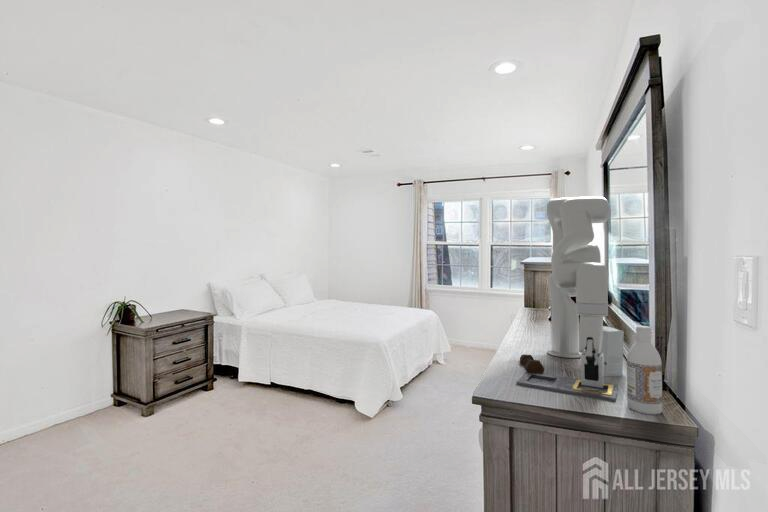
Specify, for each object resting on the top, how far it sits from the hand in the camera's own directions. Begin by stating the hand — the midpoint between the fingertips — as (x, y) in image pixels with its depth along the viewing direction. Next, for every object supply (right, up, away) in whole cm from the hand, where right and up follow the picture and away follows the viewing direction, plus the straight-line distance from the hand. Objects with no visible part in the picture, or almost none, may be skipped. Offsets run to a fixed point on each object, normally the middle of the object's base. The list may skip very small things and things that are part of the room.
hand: (592, 376), depth 103 cm
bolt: (-8, -6, +23) cm, 25 cm away
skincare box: (+13, -5, +17) cm, 22 cm away
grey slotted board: (-5, -5, +4) cm, 8 cm away
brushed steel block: (0, -2, 0) cm, 2 cm away
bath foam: (+7, -5, -11) cm, 14 cm away
